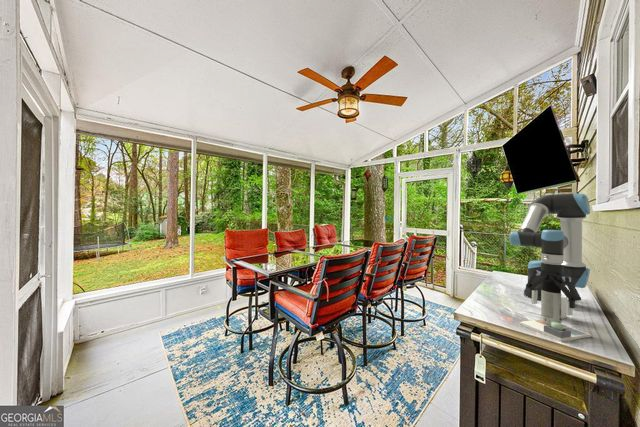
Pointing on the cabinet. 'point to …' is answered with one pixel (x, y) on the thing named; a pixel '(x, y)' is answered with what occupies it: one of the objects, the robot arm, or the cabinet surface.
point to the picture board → (546, 329)
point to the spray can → (550, 302)
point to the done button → (557, 326)
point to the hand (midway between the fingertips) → (550, 309)
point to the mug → (563, 306)
